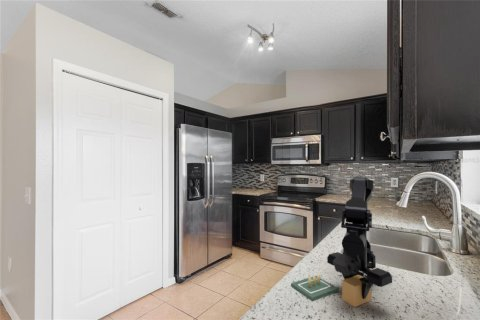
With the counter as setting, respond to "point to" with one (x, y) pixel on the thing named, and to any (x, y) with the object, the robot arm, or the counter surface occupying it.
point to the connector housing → (354, 291)
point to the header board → (314, 287)
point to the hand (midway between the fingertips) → (356, 294)
